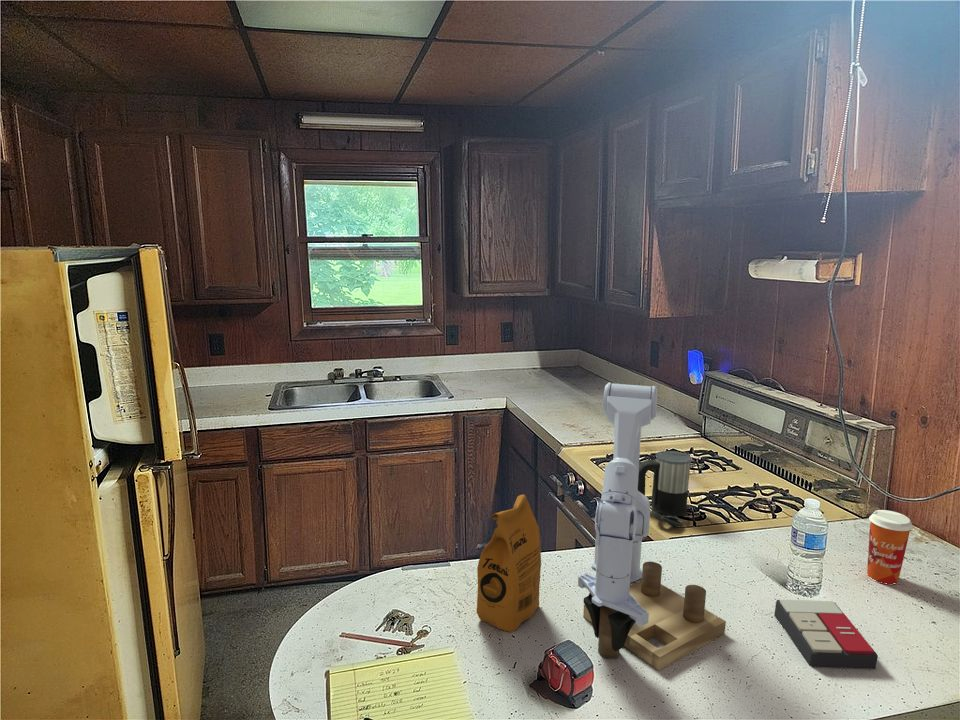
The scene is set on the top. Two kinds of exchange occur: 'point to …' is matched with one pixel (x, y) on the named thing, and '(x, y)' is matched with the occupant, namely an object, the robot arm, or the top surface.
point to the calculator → (824, 635)
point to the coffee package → (510, 569)
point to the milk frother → (667, 485)
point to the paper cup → (887, 545)
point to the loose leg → (606, 634)
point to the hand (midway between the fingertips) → (609, 641)
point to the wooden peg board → (669, 619)
